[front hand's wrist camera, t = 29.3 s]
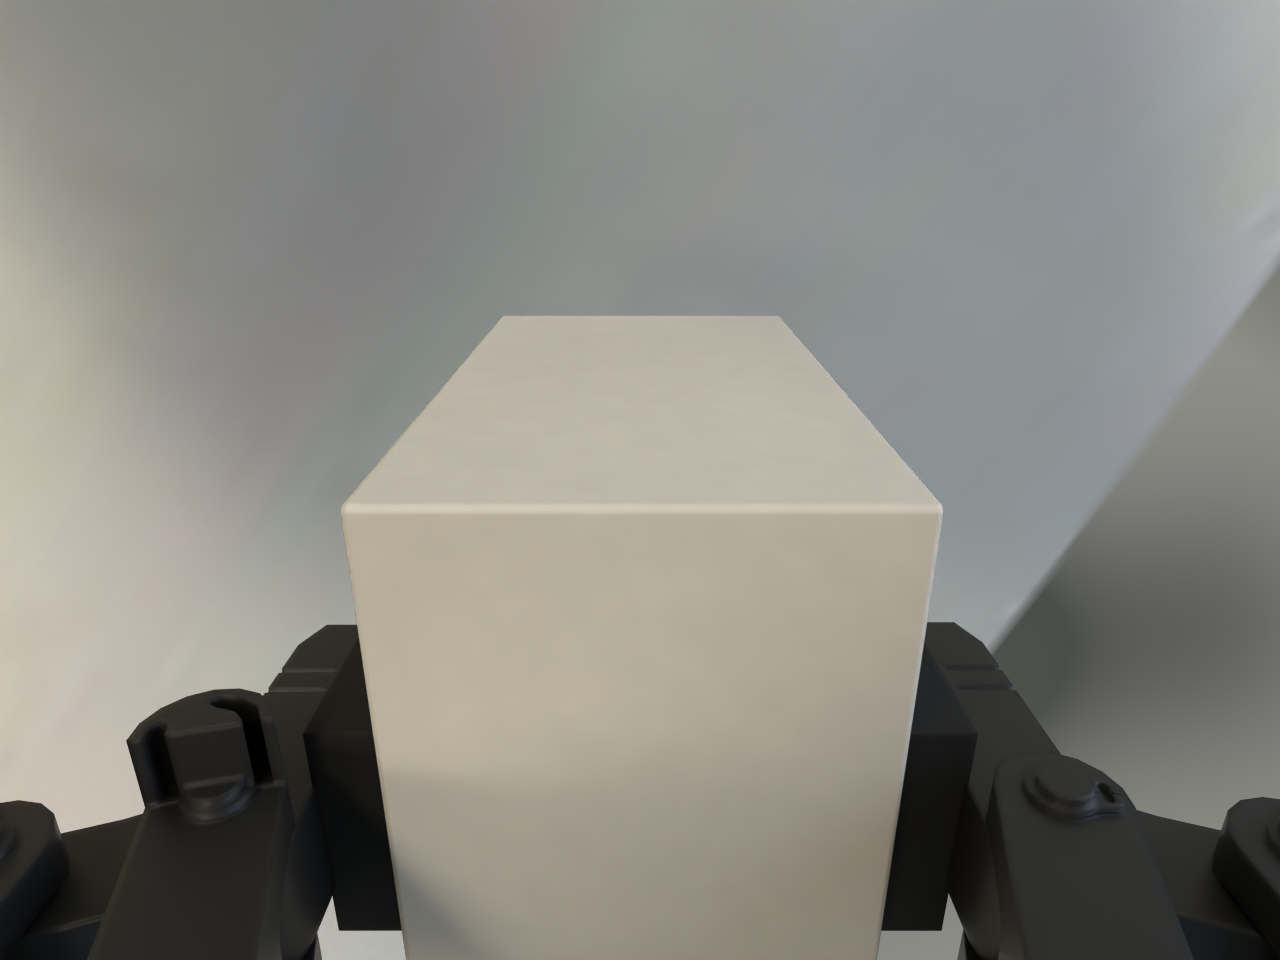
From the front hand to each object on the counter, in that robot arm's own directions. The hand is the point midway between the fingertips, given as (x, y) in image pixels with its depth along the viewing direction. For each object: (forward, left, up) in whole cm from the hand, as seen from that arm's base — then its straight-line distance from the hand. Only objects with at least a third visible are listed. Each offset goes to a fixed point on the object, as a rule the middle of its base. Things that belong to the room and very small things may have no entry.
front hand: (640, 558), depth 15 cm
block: (0, 0, -2) cm, 2 cm away
